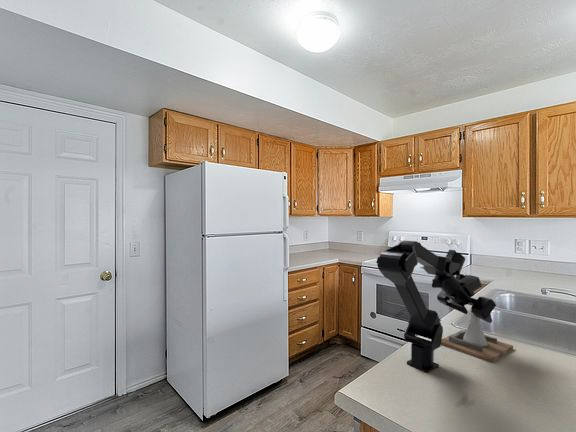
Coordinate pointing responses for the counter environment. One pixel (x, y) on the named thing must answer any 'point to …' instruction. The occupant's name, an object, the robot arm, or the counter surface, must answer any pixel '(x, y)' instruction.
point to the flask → (475, 332)
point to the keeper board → (477, 347)
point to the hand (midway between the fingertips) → (478, 317)
